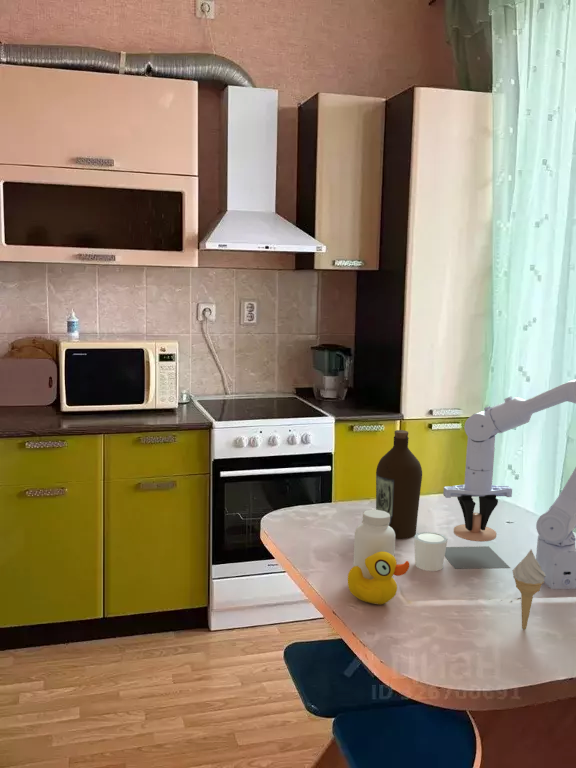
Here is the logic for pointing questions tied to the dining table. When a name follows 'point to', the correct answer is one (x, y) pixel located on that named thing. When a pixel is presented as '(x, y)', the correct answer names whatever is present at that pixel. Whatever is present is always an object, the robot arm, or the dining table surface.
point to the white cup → (429, 550)
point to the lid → (475, 531)
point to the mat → (474, 558)
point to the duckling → (376, 578)
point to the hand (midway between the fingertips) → (475, 528)
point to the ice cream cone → (528, 583)
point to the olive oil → (399, 486)
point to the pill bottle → (372, 538)
